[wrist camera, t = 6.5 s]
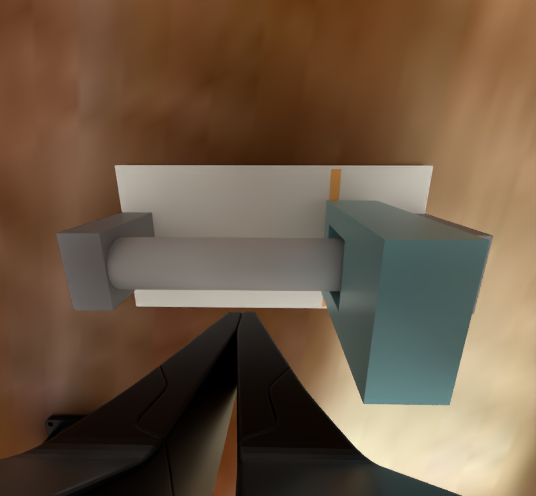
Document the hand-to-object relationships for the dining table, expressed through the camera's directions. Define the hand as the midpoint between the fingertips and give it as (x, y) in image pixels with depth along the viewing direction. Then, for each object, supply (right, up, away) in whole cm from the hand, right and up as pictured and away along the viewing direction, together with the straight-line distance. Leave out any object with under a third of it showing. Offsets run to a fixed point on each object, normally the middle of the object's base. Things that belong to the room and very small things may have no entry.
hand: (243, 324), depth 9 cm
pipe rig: (+1, +3, +11) cm, 11 cm away
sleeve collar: (+6, +2, +9) cm, 11 cm away
